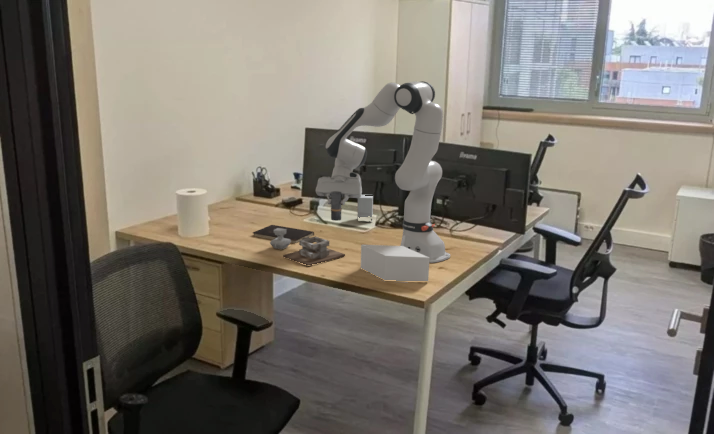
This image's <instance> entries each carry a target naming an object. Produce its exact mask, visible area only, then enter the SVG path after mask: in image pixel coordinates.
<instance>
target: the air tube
mask: <svg viewBox="0 0 714 434" xmlns="http://www.w3.org/2000/svg"><path fill="white" fill-rule="evenodd" d="M330 199H331V204H330V213H331V214H330V220H331V221H341V220H342V211H343V210H342V205H341V204H340V203H341V200H342V197H341V192H339V191H333V192H331V198H330Z"/></svg>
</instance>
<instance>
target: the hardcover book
mask: <svg viewBox="0 0 714 434" xmlns="http://www.w3.org/2000/svg"><path fill="white" fill-rule="evenodd" d="M277 228H281V229H286V234H285V235H284V236H283V237H284V238H287V239H290V240H291V243H290V244H295V243H296V244H299V240H302V238H305V237H310V238H311V237H314V236H315V231H311V230H306V229H301V228H300V229H299V228H295V227H288V226H283V225H275V224H270V225H268V226H266V227H263V228H260V229H258V230H255V231H253V232H252V234H253V236H254V237H258V238H263V239H269V240H273V239H275V238H278V236H277V235H275V233H274V231H273V230H275V229H277Z"/></svg>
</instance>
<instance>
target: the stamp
mask: <svg viewBox="0 0 714 434" xmlns="http://www.w3.org/2000/svg"><path fill="white" fill-rule="evenodd" d="M273 231H274V233H275V235H277V236H278V238H275V239H270V242H269V244H270V246H271V247H272V248H273V249H276V250H284V249H286V248H288V247H289V245H290V244H292V243H291V240H290V239H287V238H284V237H283V236H284V235H285V234H286V229H281V228H277V229H275V230H273Z"/></svg>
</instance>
